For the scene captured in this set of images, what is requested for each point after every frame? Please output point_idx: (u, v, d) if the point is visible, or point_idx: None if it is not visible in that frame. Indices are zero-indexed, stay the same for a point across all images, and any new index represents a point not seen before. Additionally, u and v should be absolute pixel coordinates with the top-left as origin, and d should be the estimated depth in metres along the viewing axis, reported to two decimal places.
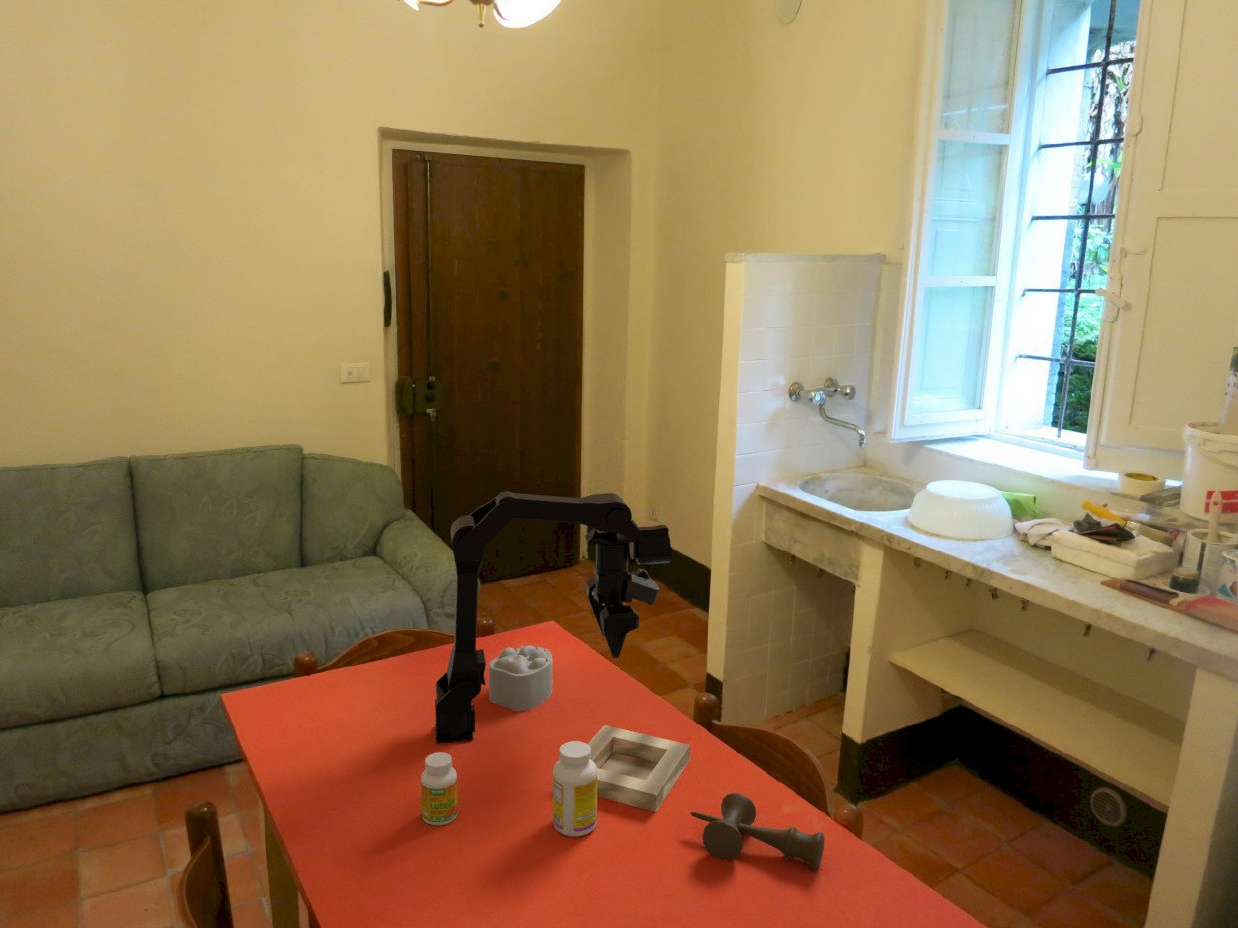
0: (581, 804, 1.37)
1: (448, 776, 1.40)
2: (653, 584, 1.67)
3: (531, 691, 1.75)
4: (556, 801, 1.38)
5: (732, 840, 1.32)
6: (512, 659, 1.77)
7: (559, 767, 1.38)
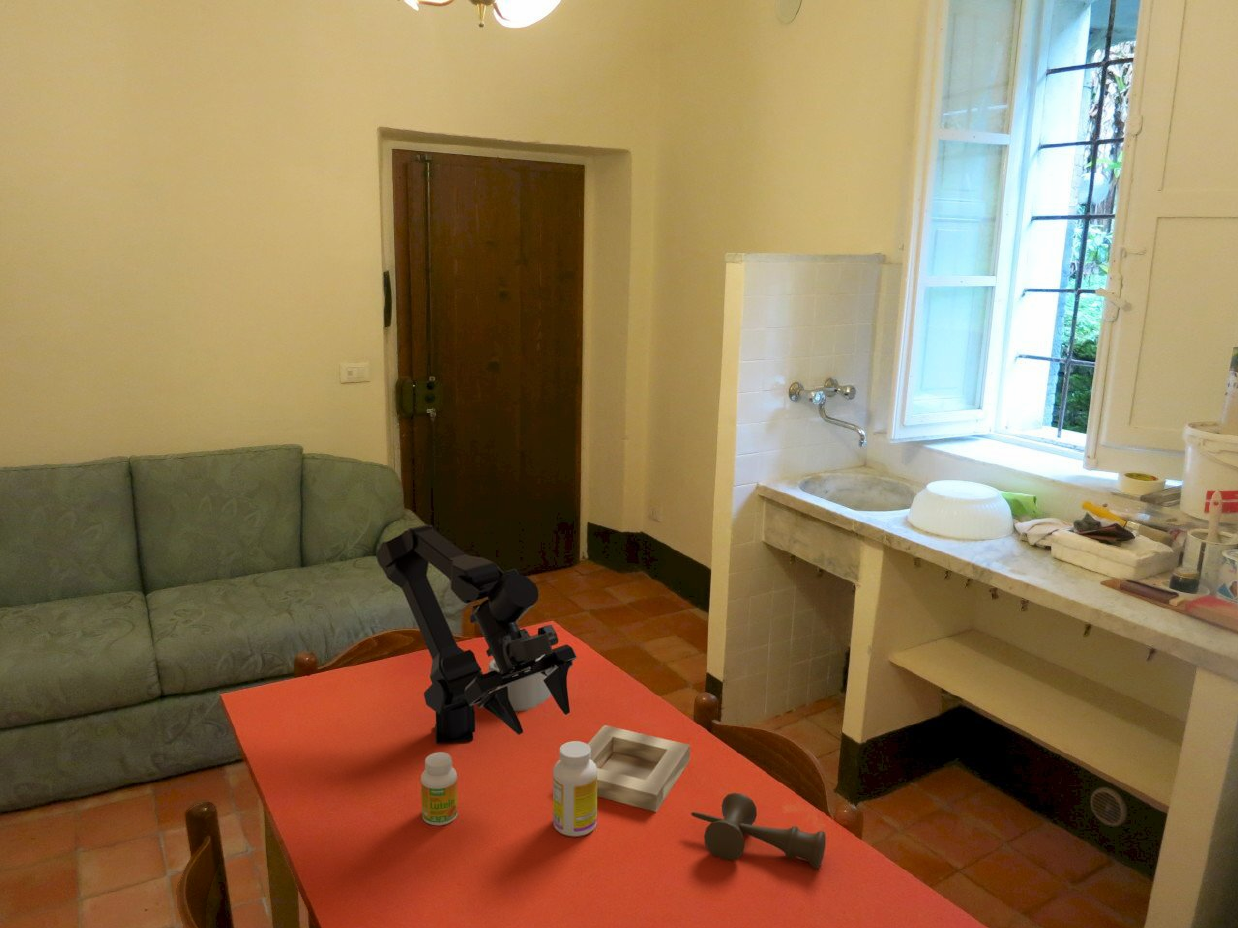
0: (581, 804, 1.37)
1: (448, 776, 1.40)
2: (535, 637, 1.43)
3: (531, 691, 1.75)
4: (556, 801, 1.38)
5: (734, 840, 1.32)
6: None
7: (559, 767, 1.38)
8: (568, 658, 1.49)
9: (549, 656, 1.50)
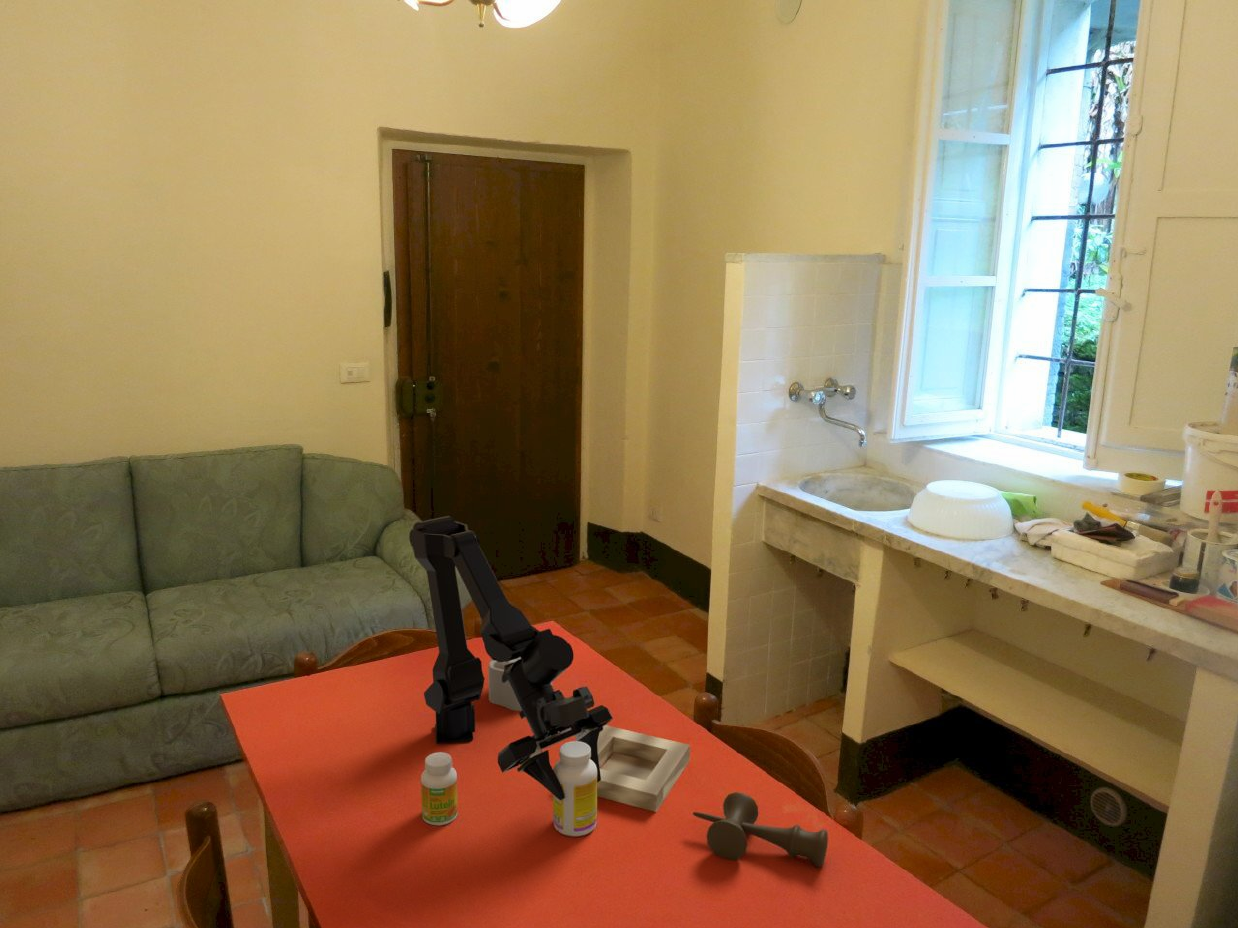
0: (581, 804, 1.37)
1: (448, 776, 1.40)
2: (570, 700, 1.37)
3: None
4: (556, 801, 1.38)
5: (737, 840, 1.33)
6: None
7: (559, 766, 1.38)
8: (604, 720, 1.44)
9: None
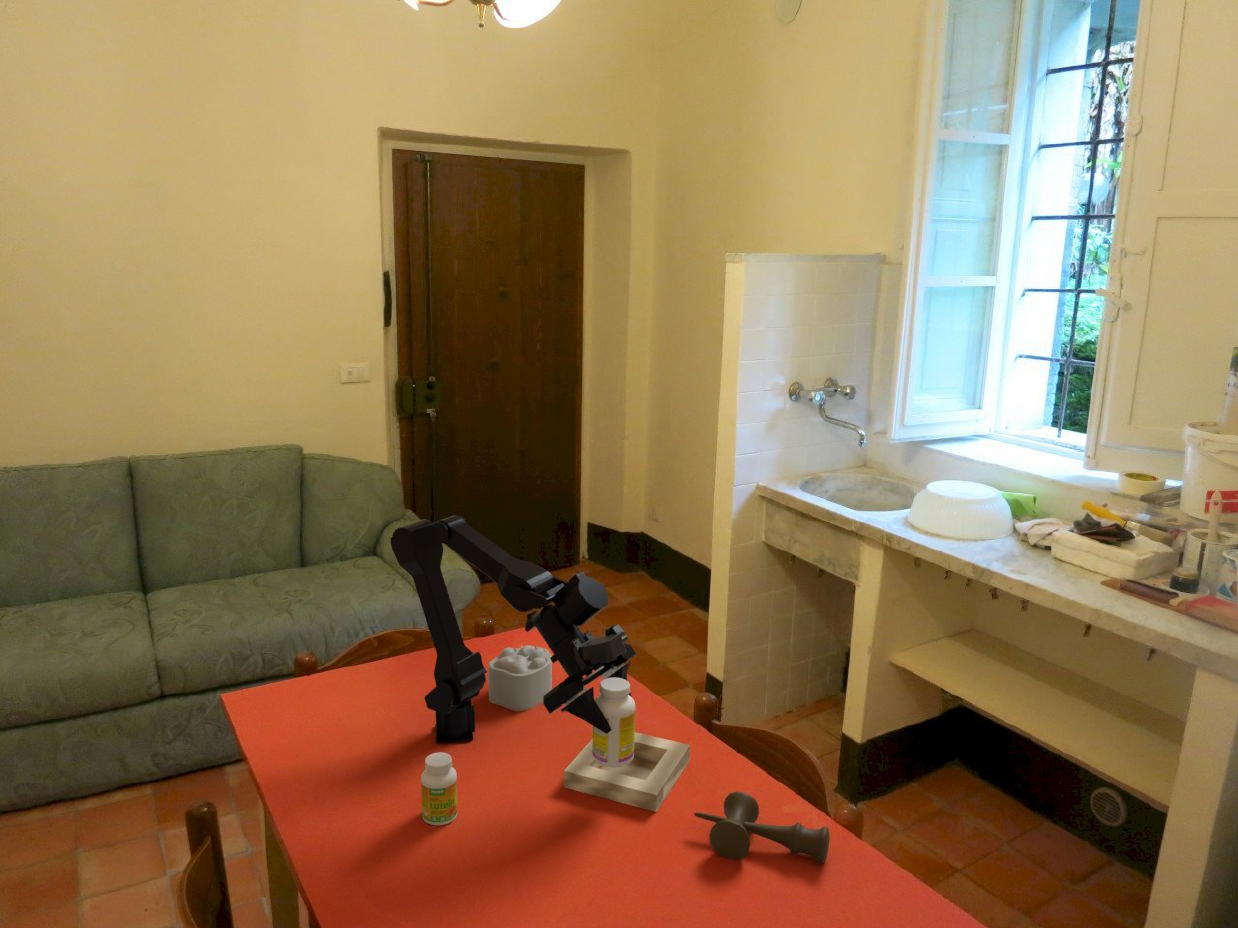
0: (625, 735, 1.43)
1: (448, 776, 1.40)
2: (609, 638, 1.43)
3: (530, 691, 1.75)
4: (599, 736, 1.44)
5: (740, 839, 1.33)
6: (512, 659, 1.77)
7: (601, 702, 1.43)
8: (630, 656, 1.51)
9: None
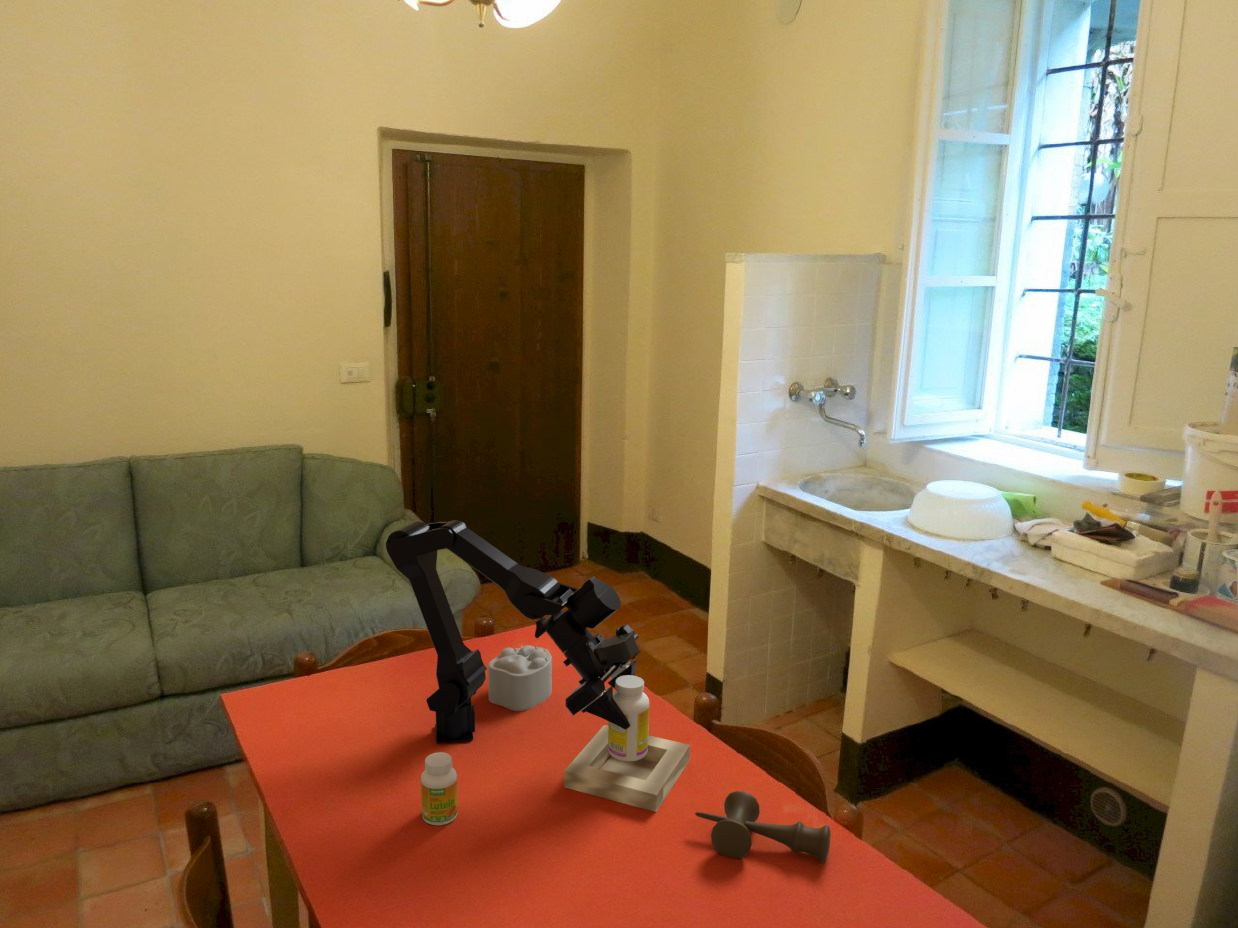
0: (643, 729, 1.50)
1: (448, 776, 1.40)
2: (624, 637, 1.49)
3: (530, 691, 1.75)
4: (618, 732, 1.50)
5: (741, 839, 1.33)
6: (512, 659, 1.77)
7: (619, 700, 1.50)
8: (636, 654, 1.58)
9: None
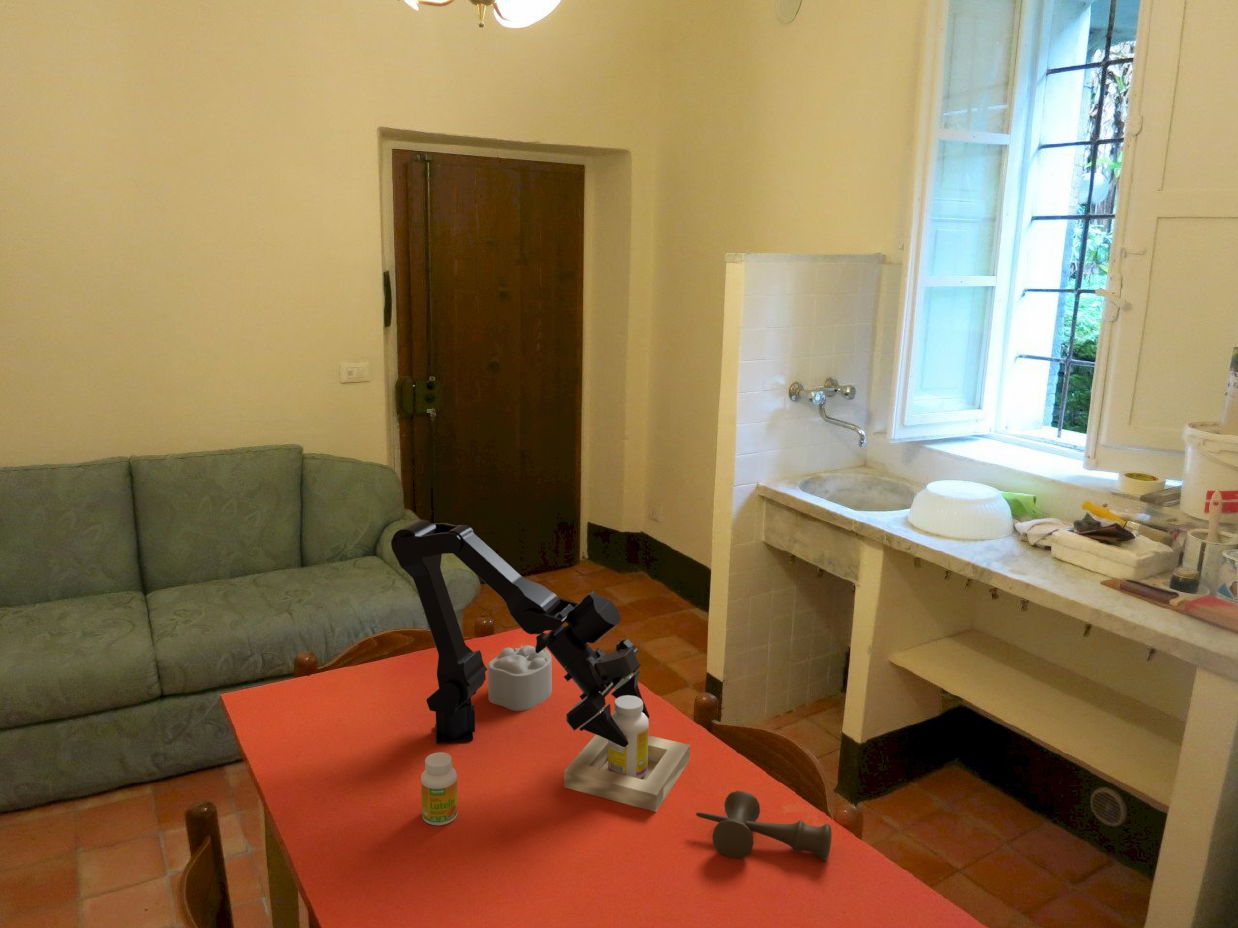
0: (642, 749, 1.51)
1: (448, 776, 1.40)
2: (624, 652, 1.50)
3: (530, 691, 1.75)
4: (618, 753, 1.51)
5: (743, 838, 1.33)
6: (511, 659, 1.77)
7: (618, 720, 1.50)
8: (636, 667, 1.58)
9: None
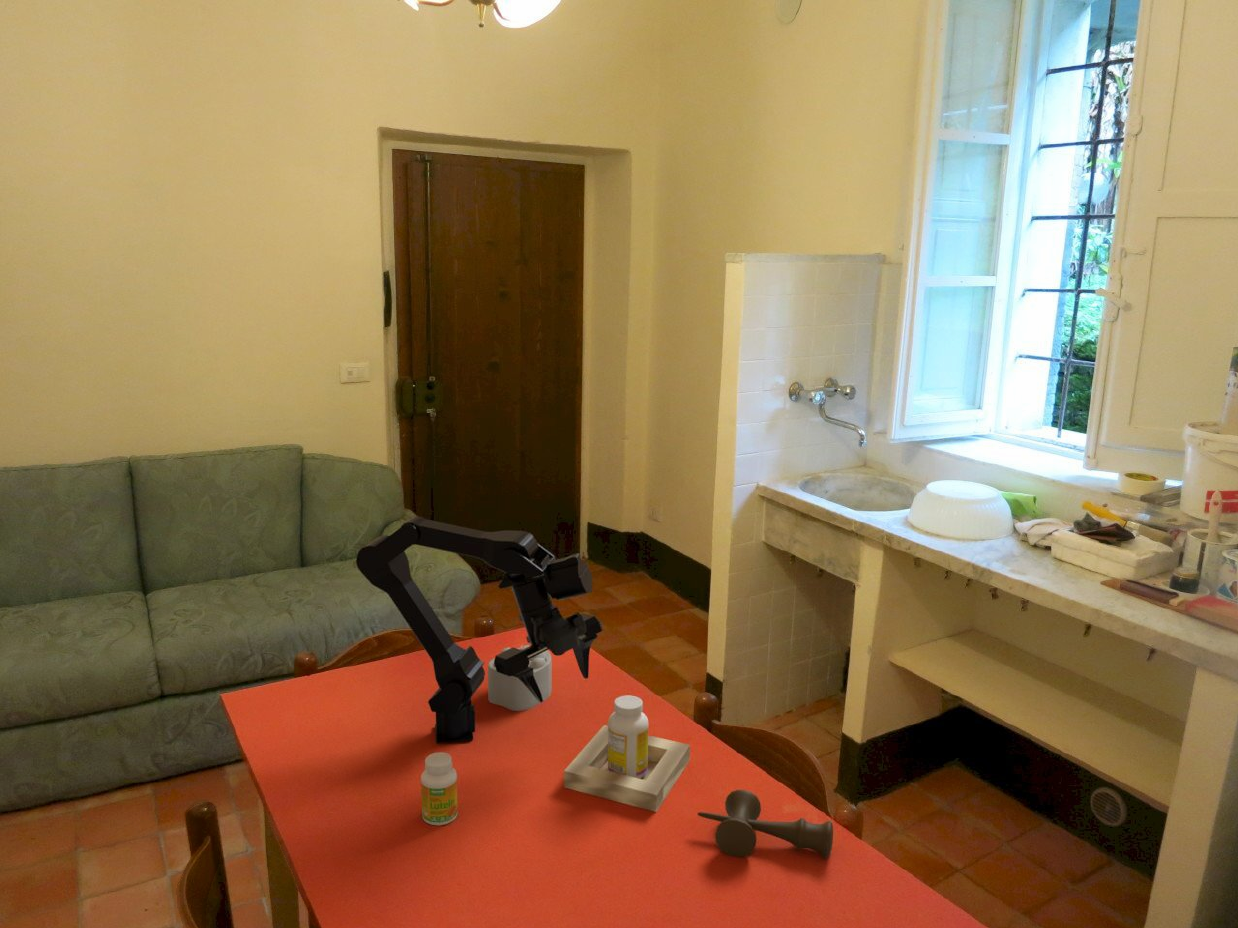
0: (642, 749, 1.51)
1: (448, 776, 1.40)
2: (564, 633, 1.51)
3: None
4: (617, 753, 1.51)
5: (746, 837, 1.33)
6: None
7: (618, 721, 1.50)
8: (594, 633, 1.59)
9: None
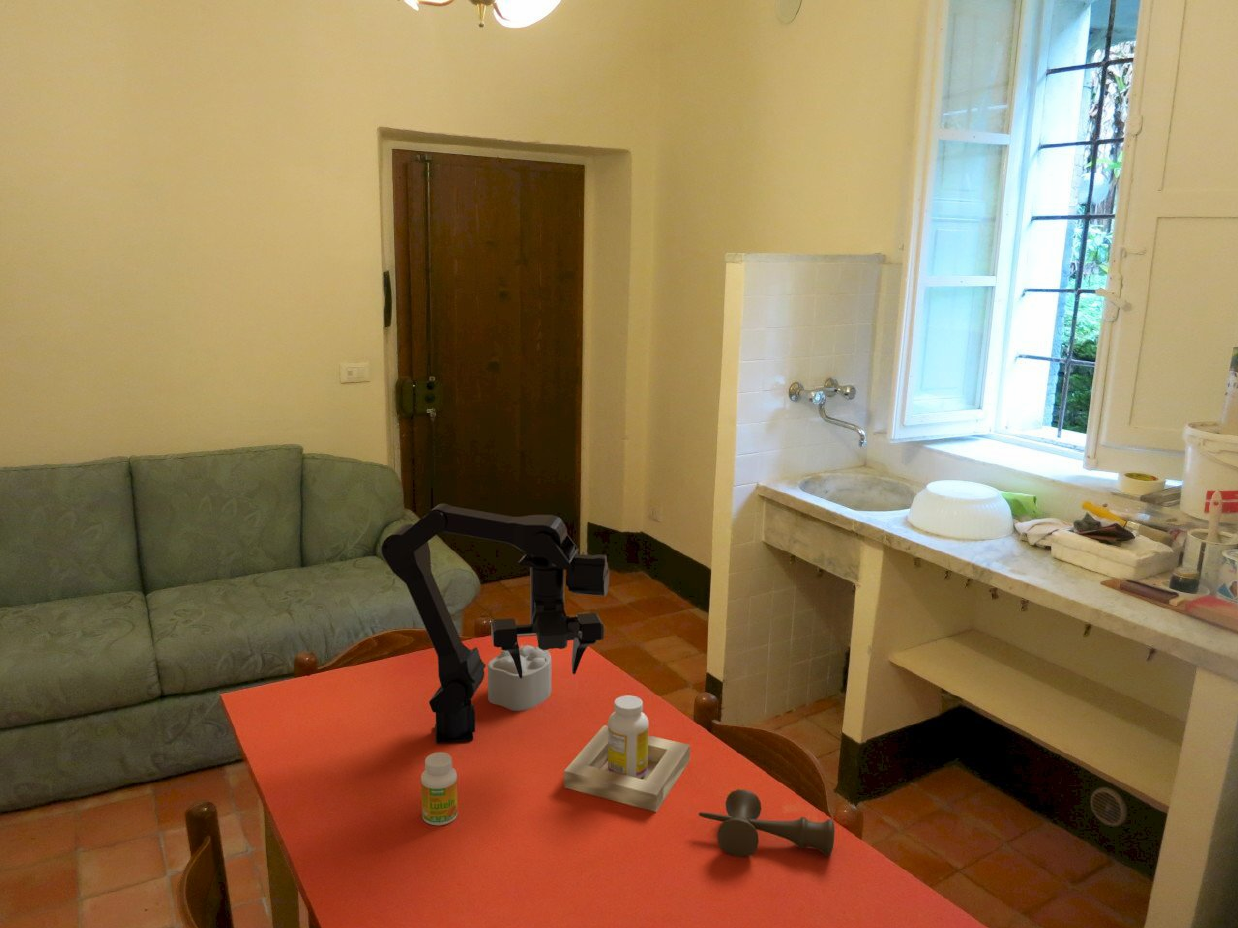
0: (642, 749, 1.51)
1: (448, 776, 1.40)
2: (553, 631, 1.50)
3: (530, 691, 1.75)
4: (618, 753, 1.51)
5: (749, 837, 1.33)
6: (511, 659, 1.77)
7: (618, 720, 1.50)
8: (592, 639, 1.57)
9: (579, 625, 1.58)
